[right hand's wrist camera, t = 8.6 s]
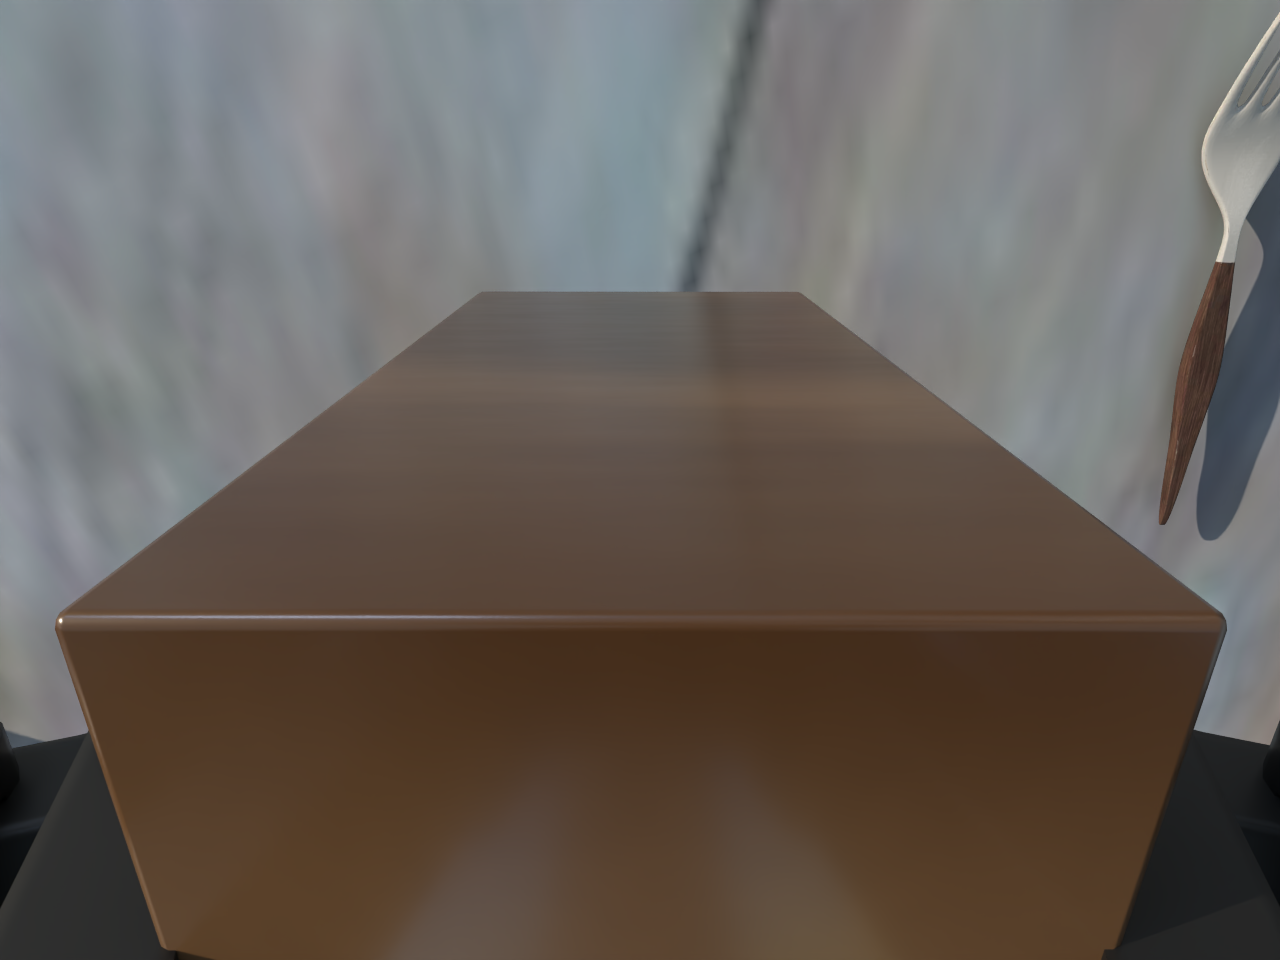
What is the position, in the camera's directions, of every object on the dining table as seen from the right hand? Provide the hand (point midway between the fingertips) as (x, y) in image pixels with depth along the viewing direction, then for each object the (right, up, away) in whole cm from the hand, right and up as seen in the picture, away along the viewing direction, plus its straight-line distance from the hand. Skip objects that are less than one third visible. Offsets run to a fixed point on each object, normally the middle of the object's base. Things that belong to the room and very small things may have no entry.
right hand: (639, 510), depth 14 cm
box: (0, -8, +6) cm, 10 cm away
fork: (+18, +7, +11) cm, 22 cm away
